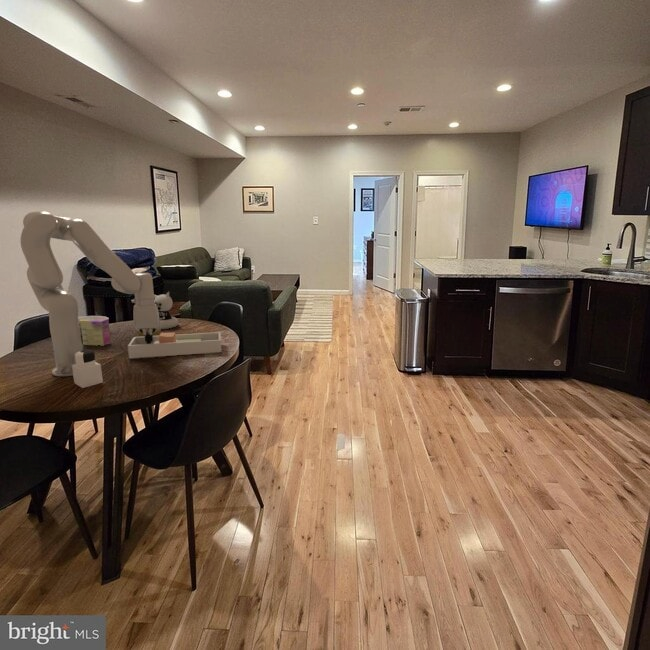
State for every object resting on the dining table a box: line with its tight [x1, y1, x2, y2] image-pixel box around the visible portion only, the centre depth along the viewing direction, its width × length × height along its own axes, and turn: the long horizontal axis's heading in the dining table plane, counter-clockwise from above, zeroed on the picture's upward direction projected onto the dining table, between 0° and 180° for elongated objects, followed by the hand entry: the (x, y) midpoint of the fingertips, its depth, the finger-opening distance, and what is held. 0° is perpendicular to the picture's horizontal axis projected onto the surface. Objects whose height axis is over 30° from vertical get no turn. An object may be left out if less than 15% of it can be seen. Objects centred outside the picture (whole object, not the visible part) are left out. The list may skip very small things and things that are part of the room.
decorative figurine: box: [154, 291, 179, 330], centre depth 229 cm, size 15×15×20 cm
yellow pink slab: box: [78, 315, 110, 336], centre depth 214 cm, size 25×23×8 cm
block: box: [158, 331, 176, 343], centre depth 186 cm, size 7×6×4 cm
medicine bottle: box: [72, 349, 104, 389], centre depth 151 cm, size 7×7×12 cm
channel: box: [127, 331, 223, 360], centre depth 188 cm, size 14×38×6 cm, turn 104°
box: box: [80, 318, 112, 347], centre depth 198 cm, size 10×6×12 cm, turn 84°
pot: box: [135, 329, 162, 337], centre depth 210 cm, size 12×12×10 cm
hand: (149, 342), depth 185 cm, fingers closed
